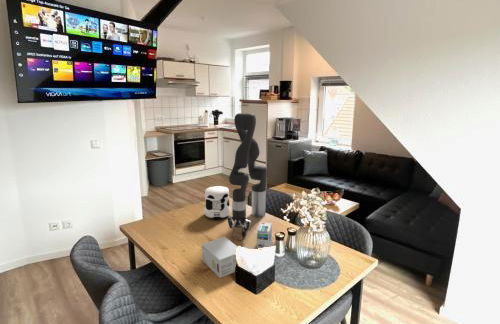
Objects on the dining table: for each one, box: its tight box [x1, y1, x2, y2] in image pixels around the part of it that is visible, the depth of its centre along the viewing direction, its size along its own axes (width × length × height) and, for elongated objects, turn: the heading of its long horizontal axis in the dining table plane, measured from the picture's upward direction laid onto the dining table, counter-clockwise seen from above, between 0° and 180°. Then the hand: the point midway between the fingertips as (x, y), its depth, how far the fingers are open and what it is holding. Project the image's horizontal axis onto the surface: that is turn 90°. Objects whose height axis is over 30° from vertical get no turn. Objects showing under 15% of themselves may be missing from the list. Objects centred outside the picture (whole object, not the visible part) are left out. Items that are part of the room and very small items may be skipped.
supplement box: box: [201, 236, 239, 279], centre depth 137 cm, size 17×13×9 cm
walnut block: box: [232, 225, 244, 241], centre depth 163 cm, size 5×5×7 cm
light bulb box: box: [256, 221, 273, 249], centre depth 155 cm, size 11×7×11 cm, turn 168°
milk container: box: [203, 185, 232, 220], centre depth 191 cm, size 17×17×18 cm
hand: (239, 235), depth 164 cm, fingers closed on walnut block, 5 cm apart
